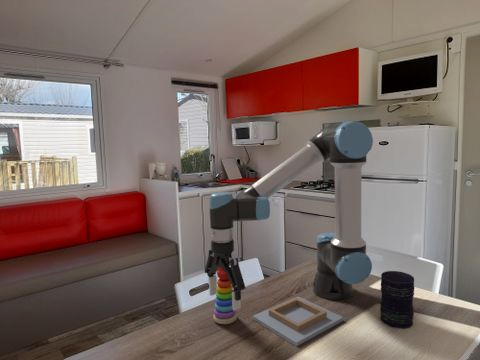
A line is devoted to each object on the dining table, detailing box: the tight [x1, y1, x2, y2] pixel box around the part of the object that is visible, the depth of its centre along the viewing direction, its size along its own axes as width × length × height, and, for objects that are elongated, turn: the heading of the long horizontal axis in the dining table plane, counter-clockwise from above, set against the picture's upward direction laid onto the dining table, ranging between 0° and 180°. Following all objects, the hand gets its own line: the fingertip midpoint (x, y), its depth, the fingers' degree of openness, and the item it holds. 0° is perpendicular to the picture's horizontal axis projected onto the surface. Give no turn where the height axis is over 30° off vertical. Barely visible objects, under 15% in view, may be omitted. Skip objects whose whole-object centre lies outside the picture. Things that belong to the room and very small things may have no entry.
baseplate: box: [252, 296, 344, 347], centre depth 115 cm, size 22×20×3 cm
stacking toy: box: [212, 266, 238, 325], centre depth 116 cm, size 8×8×19 cm
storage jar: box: [379, 270, 415, 330], centre depth 112 cm, size 10×10×15 cm
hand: (224, 301), depth 117 cm, fingers open, 13 cm apart
